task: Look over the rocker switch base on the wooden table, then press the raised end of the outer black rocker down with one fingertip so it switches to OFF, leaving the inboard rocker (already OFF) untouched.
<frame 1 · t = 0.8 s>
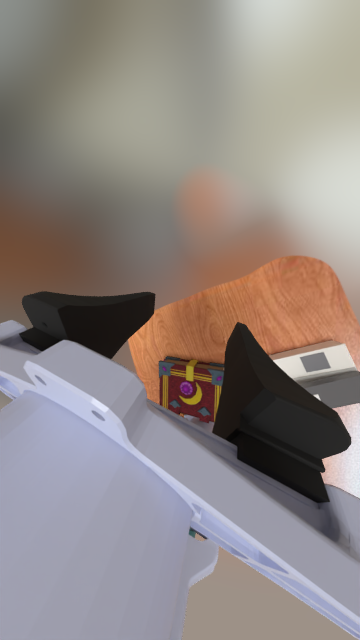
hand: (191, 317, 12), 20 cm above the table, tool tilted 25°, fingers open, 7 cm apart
decorative book: (192, 381, 34), on the table, touching rocker switch base
rocker switch base: (277, 374, 27), on the table
rocker outer: (335, 391, 20), point 5 cm above the table, hinge at 9.0°
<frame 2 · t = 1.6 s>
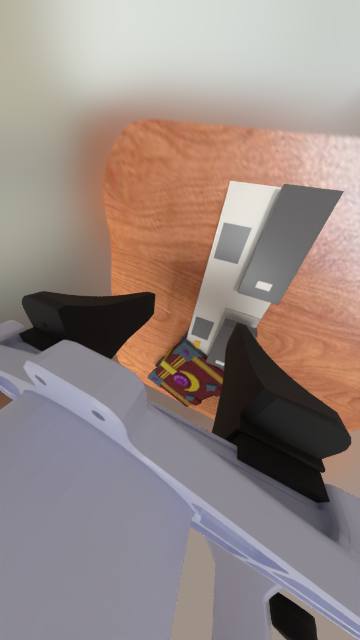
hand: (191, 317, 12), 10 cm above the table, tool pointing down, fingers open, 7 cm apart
decorative book: (191, 364, 30), on the table, touching rocker switch base
beverage bottle: (265, 422, 29), on the table
rocker inboard: (227, 348, 18), point 5 cm above the table, hinge at -9.0°
rocker switch base: (232, 291, 19), on the table
rocker outer: (278, 252, 11), point 5 cm above the table, hinge at 9.0°
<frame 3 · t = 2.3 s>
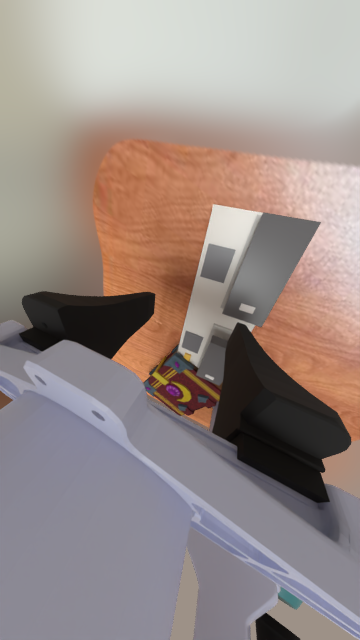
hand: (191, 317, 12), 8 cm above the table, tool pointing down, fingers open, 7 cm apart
decorative book: (184, 373, 30), on the table, touching rocker switch base
beverage bottle: (259, 432, 29), on the table
rocker inboard: (216, 363, 18), point 5 cm above the table, hinge at -9.0°
rocker switch base: (222, 306, 19), on the table
rocker outer: (260, 276, 11), point 5 cm above the table, hinge at 9.0°
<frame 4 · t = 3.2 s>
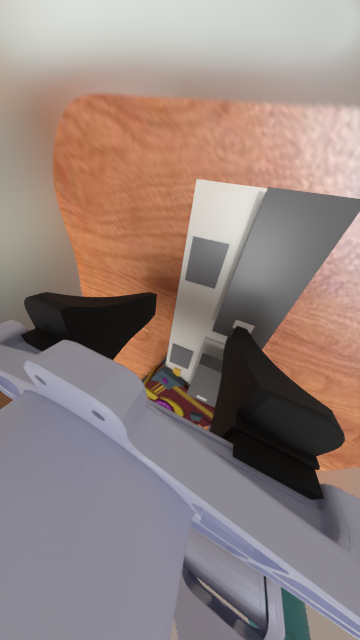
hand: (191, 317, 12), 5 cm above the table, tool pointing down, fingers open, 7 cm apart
decorative book: (177, 384, 27), on the table, touching rocker switch base
beverage bottle: (260, 447, 27), on the table
rocker inboard: (208, 384, 15), point 5 cm above the table, hinge at -9.0°
rocker switch base: (216, 314, 16), on the table
rocker outer: (263, 284, 8), point 5 cm above the table, hinge at 3.1°, touching gripper
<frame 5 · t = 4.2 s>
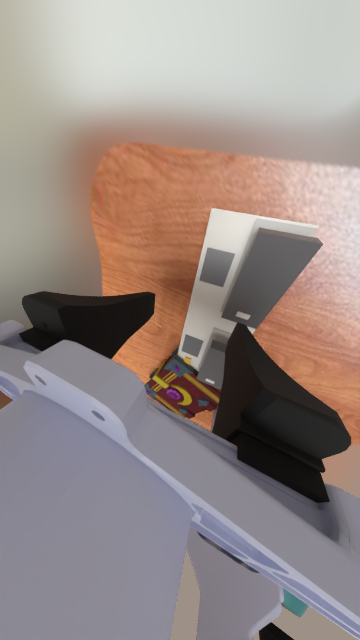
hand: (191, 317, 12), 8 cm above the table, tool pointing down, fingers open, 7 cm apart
decorative book: (184, 376, 30), on the table, touching rocker switch base
beverage bottle: (260, 434, 29), on the table
rocker inboard: (216, 367, 18), point 5 cm above the table, hinge at -9.0°
rocker switch base: (222, 309, 19), on the table
rocker outer: (257, 288, 12), point 5 cm above the table, hinge at -14.8°, touching rocker switch base
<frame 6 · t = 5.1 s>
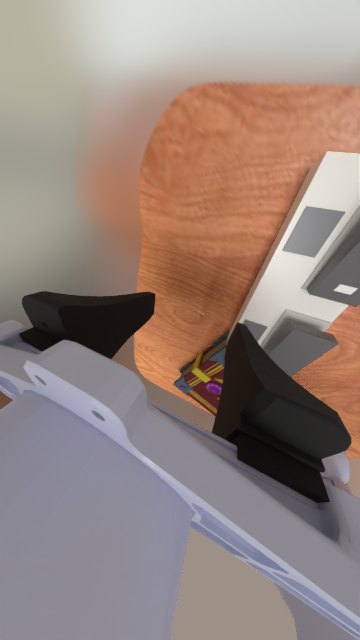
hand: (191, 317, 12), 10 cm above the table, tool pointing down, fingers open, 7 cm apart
decorative book: (220, 370, 27), on the table, touching rocker switch base
rocker inboard: (286, 355, 15), point 5 cm above the table, hinge at -9.0°
rocker switch base: (288, 291, 16), on the table
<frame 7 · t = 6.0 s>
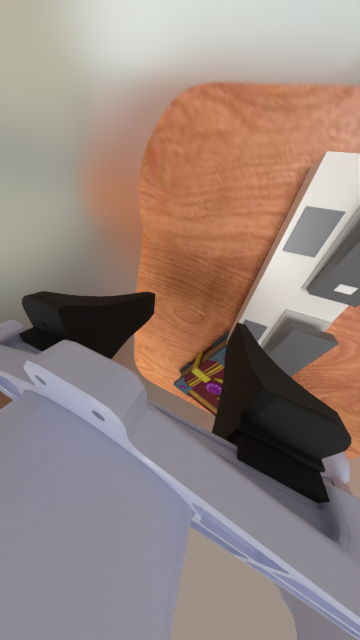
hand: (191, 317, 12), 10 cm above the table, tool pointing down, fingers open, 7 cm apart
decorative book: (220, 370, 27), on the table, touching rocker switch base
rocker inboard: (286, 355, 15), point 5 cm above the table, hinge at -9.0°
rocker switch base: (288, 291, 16), on the table
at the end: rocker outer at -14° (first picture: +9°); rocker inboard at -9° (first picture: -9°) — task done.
